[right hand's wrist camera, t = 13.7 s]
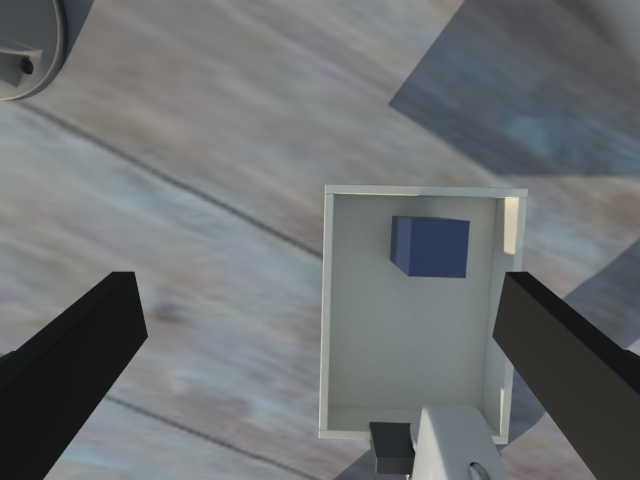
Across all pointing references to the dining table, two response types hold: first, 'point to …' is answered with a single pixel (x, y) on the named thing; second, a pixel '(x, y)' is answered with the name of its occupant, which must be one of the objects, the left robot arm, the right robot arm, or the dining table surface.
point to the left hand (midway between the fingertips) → (416, 443)
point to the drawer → (412, 316)
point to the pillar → (430, 246)
